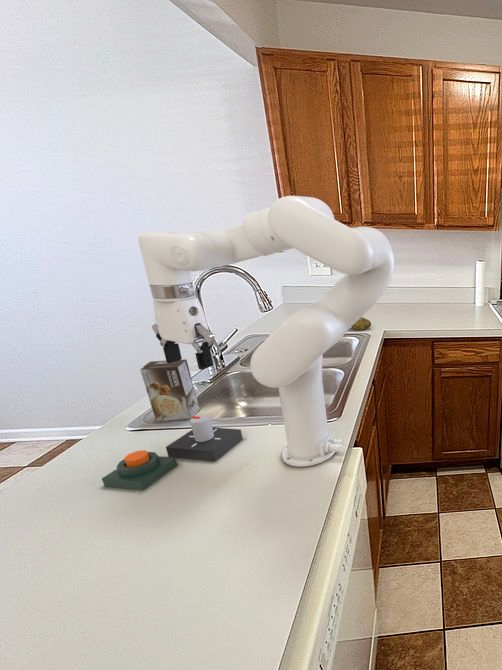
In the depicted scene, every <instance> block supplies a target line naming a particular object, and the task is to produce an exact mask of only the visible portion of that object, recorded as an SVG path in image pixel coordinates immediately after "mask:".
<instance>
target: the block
mask: <svg viewBox="0 0 502 670" xmlns="http://www.w3.org/2000/svg"><path fill="white" fill-rule="evenodd" d="M147 452H148V455H149V458H150V460H149V461H148V462H146V463H144V464H142V465H139V466H135V467H127V466H126V463H125V460H124V459H122V460H120V461H119V462H118V464H117V465H116V469H114V470H113V471H111V472H109V473H108V474H107V475H105V476H102V478H101V481H102V483H103V486H104V487H105V488H113V489H123V490H133V491H145V490H146V489H148V487H151V486H152V485H153V484H154V483H155V482H157V481H159V479H161V478H162V477H164V476H165V475H167V474H168V473H169V472H171V471H172V470H173V469H175V468H176V467H177V466H178V462H177V460H176V459H177V458H173V457H168V456H162V455H161V456H160V455H159V454H157V453H156V452H155V451H147Z"/></svg>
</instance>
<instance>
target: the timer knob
mask: <svg viewBox="0 0 502 670" xmlns="http://www.w3.org/2000/svg"><path fill="white" fill-rule="evenodd" d="M189 423H190V426H191V430H193V434H194V438H195V441H197V442H204V441H208V440H210V439H212V438H213V437H214V432H213V428H212V427H213V424H212V420H211V416H210V415H209V414H198V415H195V416H192V417H191V419H189Z"/></svg>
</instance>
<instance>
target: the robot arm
mask: <svg viewBox="0 0 502 670" xmlns="http://www.w3.org/2000/svg"><path fill="white" fill-rule="evenodd" d="M137 240H138V245H139V249H140V253H141V256H142V261H143V264H144V268H145V272H146V276H147V281H148V285H149V289H150V293H151V297H152V301H153V302H152V303H153V312H154V318H155V323H154V324H153V325H151V329H152V331H153V332H154V333H155V337H156V338H157V340H158V341H159V344H160V346H161V347H162V350H163V354H164V357H165V361H166V362H167V363H173V362H176V361H179V360H183V359H182V354H181V349H180V345H179V343H180V344H186V345H191V346H192V347H193V349H194V350H195V351H196V352H195V353H194V354H195V358H196V363H197V367H198V370H200V371H202V370H206V369H208V368H210V367H213V366H214V361H213V357H212V356H213V355H212V352H211V351H212V350H213V347H214V344H215V343H214V341H215V336H216V335H215V334H214V333H213V332H211V331H210V329H209V324H208V322H207V318H206V314H205V312H204V308H203V306H202V304H201V302H200V299H199V297H197V296H196V292H195V287H194V283H193V282H194V281H193V278H192V273H191V272H201V271H205V270H210V269H215V268H219V267H221V268H222V267H226V266H230V265H234V264H237V263H240V262H245V261H248V260H251V259H255V258H258V257H262V256H263V257H267V256H271V255H274V254H278V253H281V252H284V251H288V250H292V249H294V250H296V251H297V252H300V253H302V254H304V255H305V256H307V257H309V258H311V259H313V260H314V261H316V262H318V263H320V264H322V265H324V266H326V267H327V268H330V269H332V270H333V271H336V272H338V273H341V274H344V275H343V276H342V277H341V278H340V279H339V280H337V281H336V283H335V284H334V285H333V286H332V287H331V288H330V289H329V290H328V291H327V292H326V293H325V294H324V295H323V296H322V297H320V298H319V299H318V300H316V301H314V302H313V303H311V304H308V305H307V306H304V307H302V308H300V309H298V310H297V311H294V312H293V313H292V314H290V315H289V316H288V317H287V318H286V319H284V320H283V321H282V323H280V325H278V326H277V327H276V328H275V329H274V330H273V331H272V333H271V334H269V335H268V336H267V338H266V339H265V340H263V341H262V343H261V344H260V345H259V346H258V347H256V349H254V351H253V353H252V355H251V357H250V361H249V362H250V363H249V367H250V372H251V375H252V376H253V378H254V379H255V381H256V382H258V383H259V384H261V385H262V386H265V387H268V388H273V389H274V388H275V389H278V394H279V401H280V407H281V414H282V419H283V426H284V432H285V438H286V442H287V445H285V447H284V448H283V449H282V452H281V457H282V460H283V462H284V463H285V464H287V465H289V466H292V467H296V468H297V467H298V468H299V467H300V468H301V467H302V468H304V467H311V466H316V465H319V464H321V463H323V462H325V461H327V460H329V459H330V458H332V456H334V455H335V453H336V452H337V453H343V452H344V451H345V444H344V439H342V438H341V439H340V438H337V439H336V438H335V437H334V433H333V432H332V431H329V425H328V417H327V408H326V403H325V402H326V401H325V391H324V383H323V381H324V380H323V358H324V357H323V355H324V354H325V353H326V352H328V351H329V350H330V349H331V348H332V347H333V346H334V345H335V344H337V343H338V342H340V340H341V339H342V338H343V337H344V336H345V334H346V333H347V332H348V331H349V330H350V329H352V328H351V327H352V326H353V325H354V324H355V323H356V322H357V321H358V320H359V319H360V318H361V317H363V316H364V315H365V314H366V313H367V312H368V311H369V310H370V309H371V308H372V307H373V306H374V305H375V304H376V303H377V302H378V301H379V300H380V299H381V298H382V296H383V295H384V294H385V292H386V290H387V289H388V287H389V286H390V283H391V281H392V278H393V275H394V270H395V256H394V252H393V248H392V245H391V243H390V241H389V239H388V237H386V235H385V234H384V233H383V232H381V231H380V230H379V229H377V228H374V227H371V226H356V227H350V226H348V225H346V224H344V223H342V222H340V221H338V220H336V219H335V215H334V213H333V211H332V209H331V208H330V207H329V205H328V204H326V203H325V202H324V201H323V200H322V199H319V198H316V197H313V196H302V195H301V196H300V195H286V196H283V197H280V198H278V199H276V200H275V201H274V202H273V204H271V206H270V207H266V208H262V209H259V210H255V211H251V212H249V213H247V214H246V215H245V216H244V218H243V222H242V223H240V224H237V225H233V226H230V227H226V228H223V229H218V230H214V231H213V230H212V231H199V232H198V231H197V232H185V233H178V232H173V231H144V232H141V233H140V234H139V235H138V238H137ZM200 343H201V345H200Z"/></svg>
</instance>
